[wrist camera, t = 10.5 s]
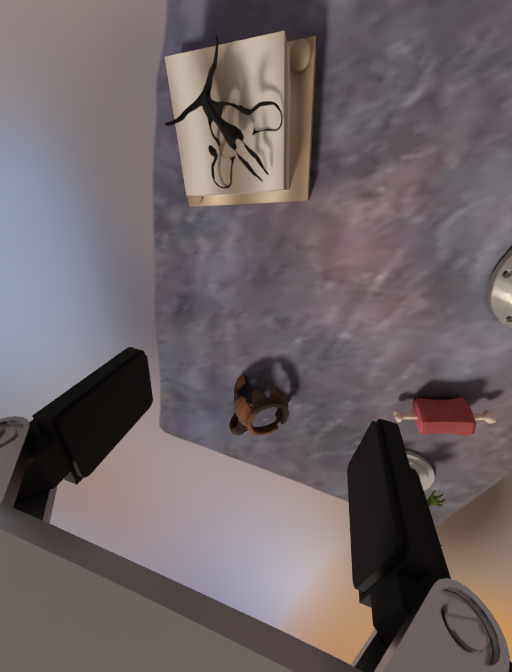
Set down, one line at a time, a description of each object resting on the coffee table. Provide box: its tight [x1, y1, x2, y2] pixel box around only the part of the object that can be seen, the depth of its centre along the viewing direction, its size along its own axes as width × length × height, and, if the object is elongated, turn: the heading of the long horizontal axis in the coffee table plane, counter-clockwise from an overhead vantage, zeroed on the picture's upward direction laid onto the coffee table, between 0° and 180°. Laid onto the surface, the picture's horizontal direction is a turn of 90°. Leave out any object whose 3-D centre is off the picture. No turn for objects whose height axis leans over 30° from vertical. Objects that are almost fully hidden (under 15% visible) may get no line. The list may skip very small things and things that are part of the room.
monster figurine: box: [406, 451, 445, 546], centre depth 41 cm, size 12×12×10 cm
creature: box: [165, 36, 282, 189], centre depth 20 cm, size 8×5×8 cm
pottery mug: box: [229, 375, 289, 435], centre depth 43 cm, size 12×10×8 cm
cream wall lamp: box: [165, 31, 316, 207], centre depth 24 cm, size 14×12×7 cm
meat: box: [393, 397, 496, 436], centre depth 35 cm, size 12×5×5 cm, turn 104°
